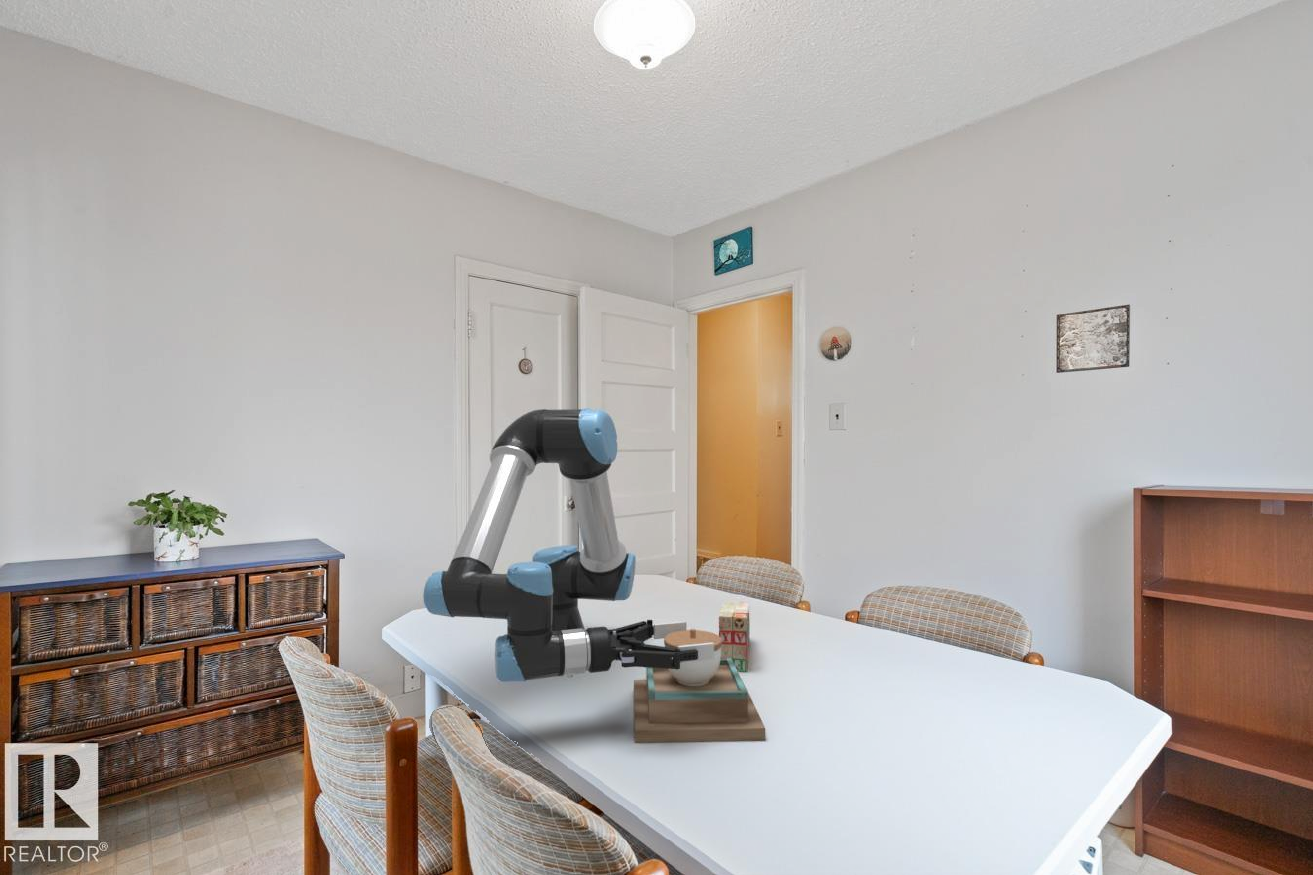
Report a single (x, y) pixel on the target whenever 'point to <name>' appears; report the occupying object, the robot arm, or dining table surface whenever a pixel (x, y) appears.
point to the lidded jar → (696, 670)
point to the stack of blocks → (735, 633)
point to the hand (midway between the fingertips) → (698, 638)
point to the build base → (692, 728)
